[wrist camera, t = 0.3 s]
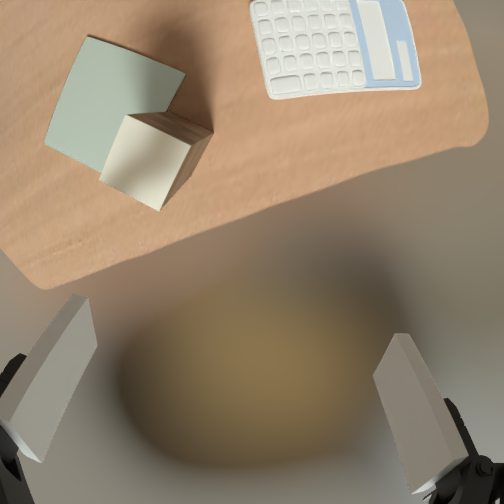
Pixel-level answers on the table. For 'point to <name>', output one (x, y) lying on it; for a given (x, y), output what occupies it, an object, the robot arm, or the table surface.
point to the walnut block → (154, 156)
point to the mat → (106, 99)
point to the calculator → (334, 46)
